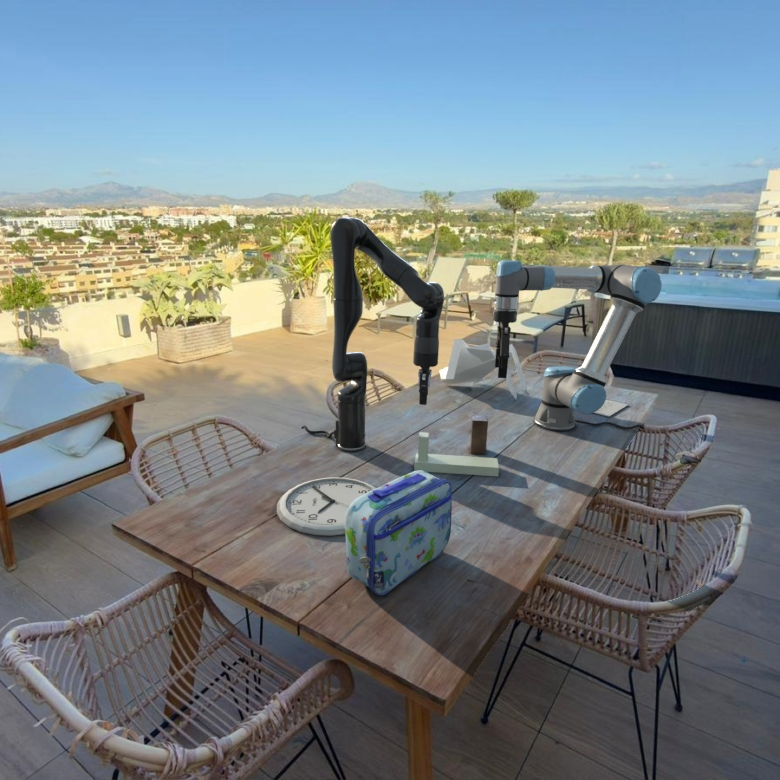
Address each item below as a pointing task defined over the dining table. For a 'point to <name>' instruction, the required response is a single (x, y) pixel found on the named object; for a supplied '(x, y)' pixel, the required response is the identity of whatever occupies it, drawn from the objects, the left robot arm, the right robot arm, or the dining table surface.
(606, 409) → the invitation card
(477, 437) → the walnut block
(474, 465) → the pale green l-shaped block
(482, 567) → the dining table surface
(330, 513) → the wall clock
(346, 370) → the left robot arm
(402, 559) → the lunch box
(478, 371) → the white plastic object
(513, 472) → the dining table surface
